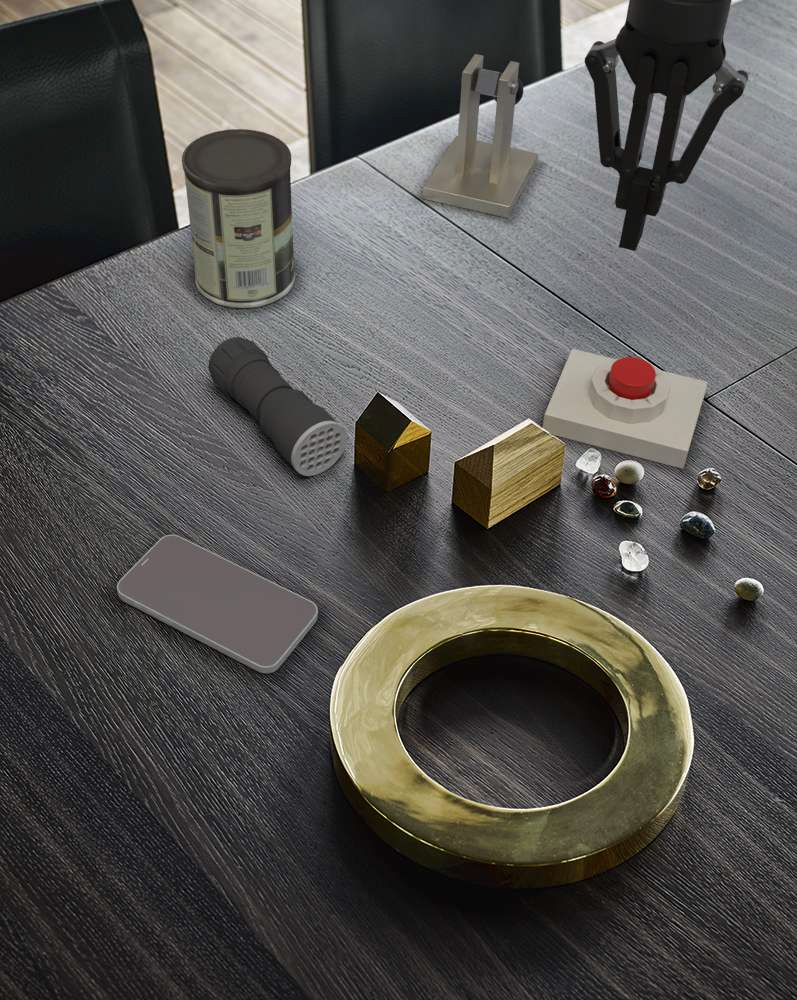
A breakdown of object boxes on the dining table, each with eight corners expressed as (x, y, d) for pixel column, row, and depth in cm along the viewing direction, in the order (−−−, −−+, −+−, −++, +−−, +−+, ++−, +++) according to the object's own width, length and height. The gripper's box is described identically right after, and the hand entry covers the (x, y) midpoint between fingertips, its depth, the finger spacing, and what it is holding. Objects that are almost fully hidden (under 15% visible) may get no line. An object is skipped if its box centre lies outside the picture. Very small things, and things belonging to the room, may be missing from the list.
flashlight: (204, 388, 116) (199, 343, 113) (254, 367, 119) (251, 322, 115) (295, 485, 108) (293, 439, 104) (347, 460, 110) (346, 414, 106)
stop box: (703, 399, 118) (712, 366, 115) (683, 469, 111) (692, 436, 108) (568, 366, 120) (574, 333, 118) (541, 432, 114) (546, 399, 111)
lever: (492, 104, 146) (499, 72, 145) (522, 110, 145) (529, 78, 144) (467, 96, 134) (474, 61, 133) (499, 102, 133) (507, 67, 132)
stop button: (656, 377, 114) (660, 363, 113) (647, 405, 111) (650, 390, 110) (613, 367, 115) (616, 352, 114) (603, 394, 112) (606, 379, 111)
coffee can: (256, 238, 133) (250, 117, 123) (315, 284, 128) (313, 162, 118) (174, 272, 129) (160, 149, 119) (231, 322, 123) (221, 198, 113)
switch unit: (455, 146, 148) (463, 34, 138) (537, 164, 146) (551, 51, 136) (422, 199, 140) (428, 83, 130) (508, 218, 138) (521, 102, 128)
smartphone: (270, 672, 93) (110, 589, 98) (270, 680, 94) (111, 597, 99) (323, 606, 98) (168, 530, 102) (323, 613, 98) (169, 537, 103)
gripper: (780, -29, 94) (711, 235, 111) (612, -61, 97) (570, 202, 114) (764, 11, 89) (695, 282, 106) (587, -23, 92) (547, 246, 109)
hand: (630, 240), depth 110 cm, fingers closed
